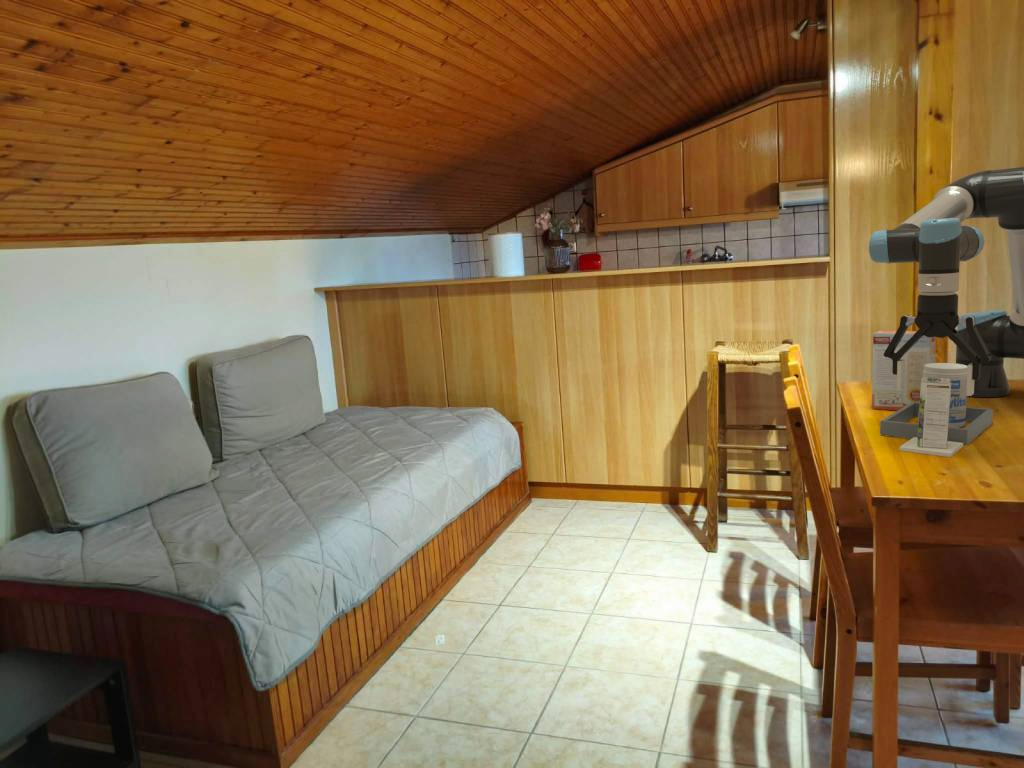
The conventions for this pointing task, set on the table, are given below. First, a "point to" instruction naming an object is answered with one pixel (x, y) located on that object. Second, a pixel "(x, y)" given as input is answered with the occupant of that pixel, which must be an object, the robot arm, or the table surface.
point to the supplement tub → (952, 388)
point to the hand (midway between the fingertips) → (934, 392)
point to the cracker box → (886, 381)
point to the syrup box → (934, 412)
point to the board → (947, 452)
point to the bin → (976, 416)
